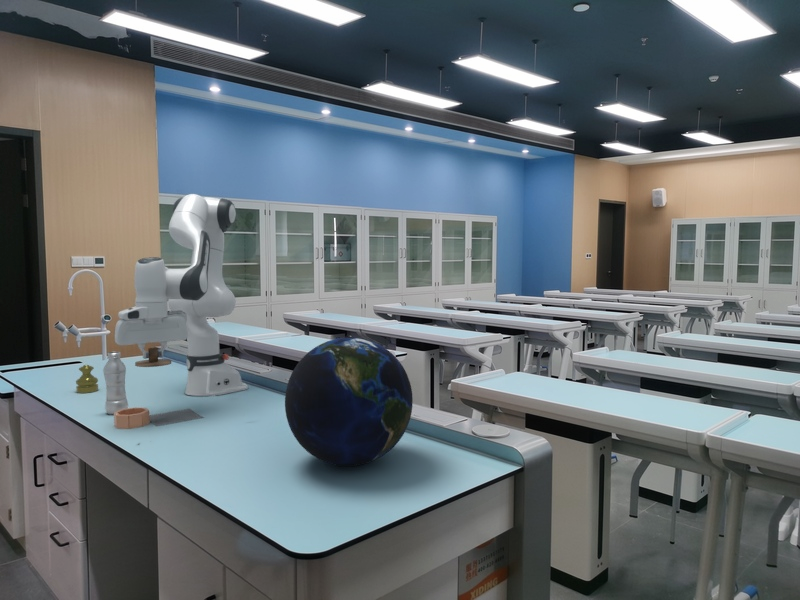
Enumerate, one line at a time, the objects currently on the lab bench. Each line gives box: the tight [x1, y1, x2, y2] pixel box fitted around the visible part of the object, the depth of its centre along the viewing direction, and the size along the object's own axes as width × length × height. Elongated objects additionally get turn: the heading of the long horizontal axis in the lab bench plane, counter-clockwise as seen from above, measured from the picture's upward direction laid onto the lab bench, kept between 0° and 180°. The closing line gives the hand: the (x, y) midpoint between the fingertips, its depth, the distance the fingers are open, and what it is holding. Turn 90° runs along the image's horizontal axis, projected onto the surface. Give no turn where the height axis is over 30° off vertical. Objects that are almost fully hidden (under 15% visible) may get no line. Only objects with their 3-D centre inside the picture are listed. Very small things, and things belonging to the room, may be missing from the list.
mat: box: [149, 408, 205, 427], centre depth 177 cm, size 14×14×1 cm
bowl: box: [113, 407, 151, 430], centre depth 170 cm, size 9×9×4 cm
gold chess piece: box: [75, 364, 99, 394], centre depth 216 cm, size 7×7×10 cm
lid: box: [134, 347, 172, 368], centre depth 172 cm, size 10×10×5 cm
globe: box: [284, 336, 413, 467], centre depth 136 cm, size 30×30×30 cm
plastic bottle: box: [102, 351, 129, 416], centre depth 182 cm, size 6×7×20 cm
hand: (153, 357), depth 172 cm, fingers closed on lid, 3 cm apart
